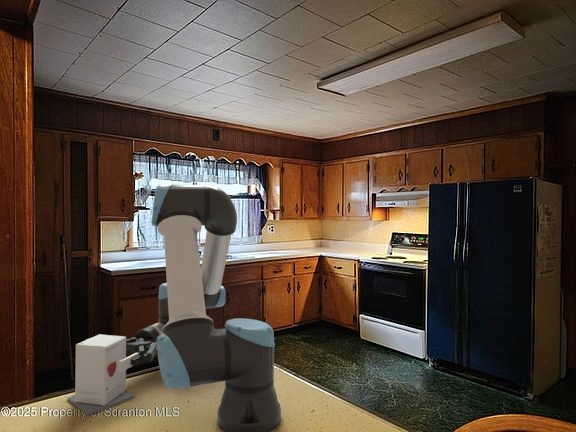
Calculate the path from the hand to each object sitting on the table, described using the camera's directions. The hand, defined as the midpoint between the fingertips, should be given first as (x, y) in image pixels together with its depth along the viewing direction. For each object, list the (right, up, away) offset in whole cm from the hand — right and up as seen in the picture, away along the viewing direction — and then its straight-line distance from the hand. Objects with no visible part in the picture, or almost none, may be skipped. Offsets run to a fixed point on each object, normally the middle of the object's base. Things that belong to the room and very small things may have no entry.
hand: (99, 363), depth 103 cm
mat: (0, -10, +1) cm, 10 cm away
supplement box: (0, -9, +1) cm, 9 cm away
